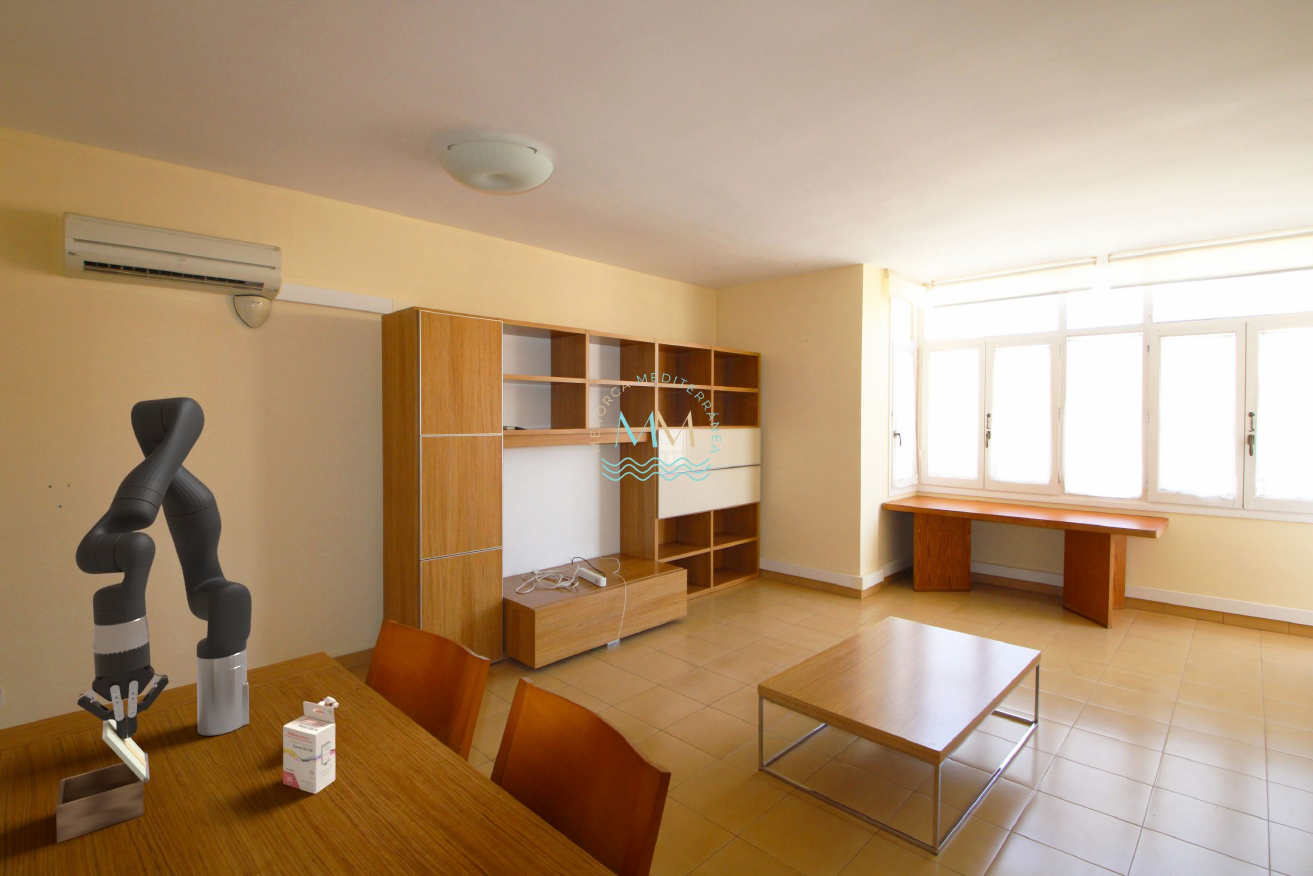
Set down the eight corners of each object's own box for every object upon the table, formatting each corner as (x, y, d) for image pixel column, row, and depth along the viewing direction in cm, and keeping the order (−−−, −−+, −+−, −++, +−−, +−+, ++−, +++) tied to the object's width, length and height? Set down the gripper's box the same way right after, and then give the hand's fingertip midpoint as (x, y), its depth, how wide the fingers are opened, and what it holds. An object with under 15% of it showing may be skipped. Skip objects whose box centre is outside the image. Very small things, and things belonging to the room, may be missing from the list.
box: (142, 788, 116) (141, 757, 116) (143, 815, 108) (143, 782, 108) (61, 812, 109) (60, 779, 108) (57, 843, 101) (56, 807, 101)
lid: (142, 759, 116) (148, 755, 116) (144, 783, 108) (150, 779, 109) (103, 716, 112) (109, 712, 112) (102, 738, 104) (108, 734, 105)
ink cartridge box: (281, 785, 118) (280, 710, 117) (303, 771, 122) (303, 699, 122) (315, 795, 115) (314, 718, 114) (336, 780, 120) (336, 707, 119)
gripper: (167, 628, 116) (172, 716, 118) (72, 646, 108) (77, 741, 109) (170, 639, 111) (175, 732, 112) (69, 660, 102) (75, 760, 103)
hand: (127, 736), depth 110 cm, fingers closed
